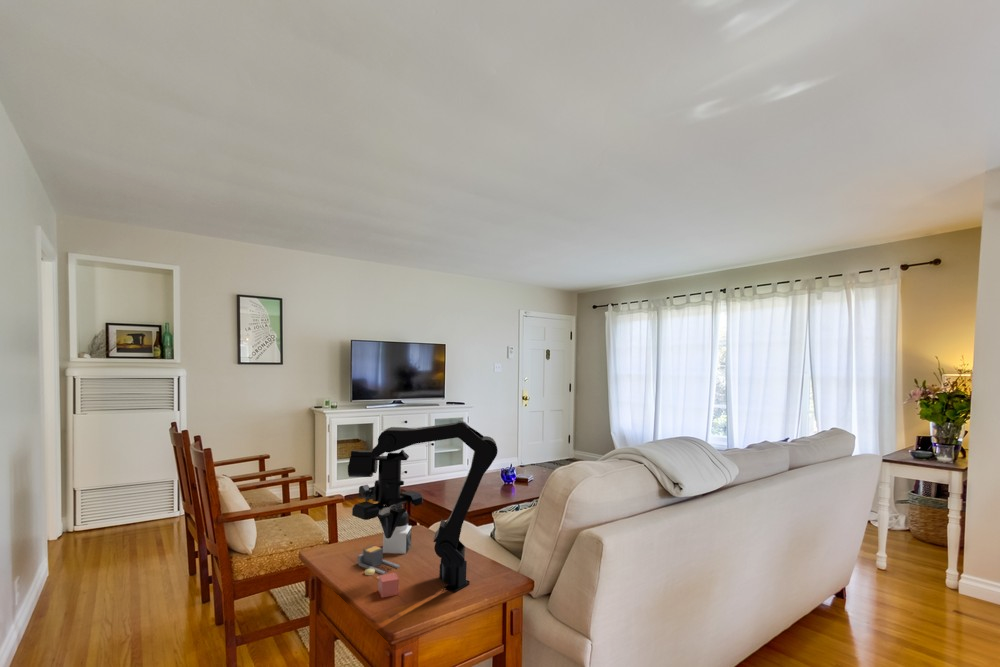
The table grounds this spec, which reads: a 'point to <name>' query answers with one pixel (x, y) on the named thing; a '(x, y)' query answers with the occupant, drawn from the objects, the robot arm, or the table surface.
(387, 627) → the table surface
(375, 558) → the dark grey cube
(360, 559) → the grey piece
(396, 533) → the medicine bottle
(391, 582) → the pink block
